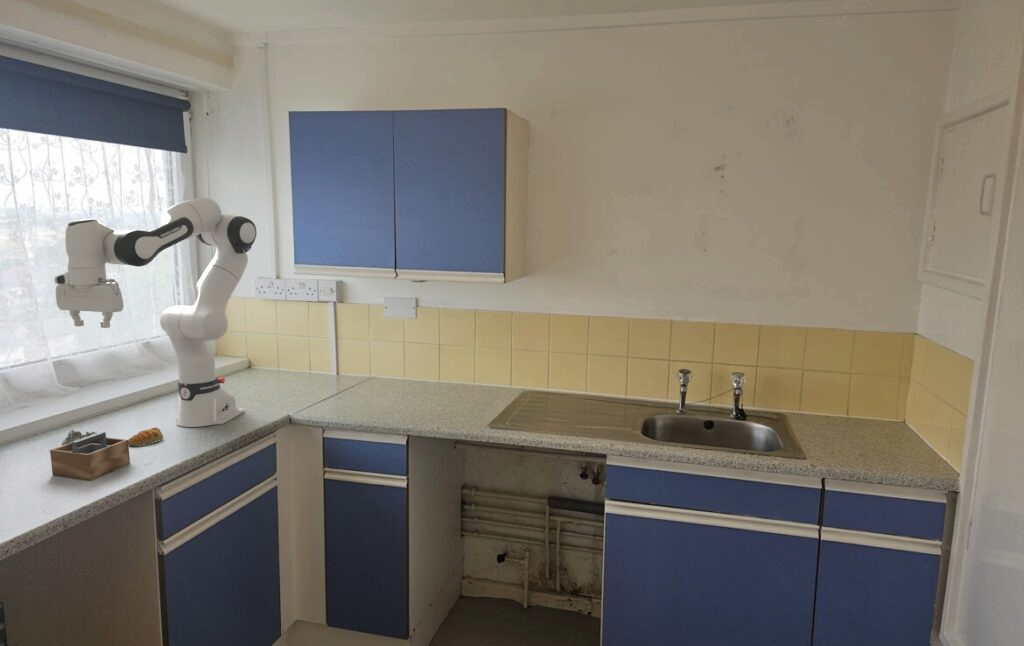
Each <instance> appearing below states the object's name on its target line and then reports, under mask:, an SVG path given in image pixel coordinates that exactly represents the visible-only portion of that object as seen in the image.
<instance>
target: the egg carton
mask: <svg viewBox="0 0 1024 646" xmlns="http://www.w3.org/2000/svg"><path fill="white" fill-rule="evenodd" d="M85 433H86V434H85ZM85 433H84V434H82V432H81V431H79V430H74V429H71V430H69V432H68V434H67V436H66V437H65V439H64V440H63V441H62V442H61V445H60V446H63V445H66V444H69V443H72V442H73V441H76V440H79V439H82V438H85V437H88V436H91V435H94V434H96V433H98V431H91V432H88V431H86V432H85Z"/></svg>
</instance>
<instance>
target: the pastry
mask: <svg viewBox="0 0 1024 646" xmlns="http://www.w3.org/2000/svg"><path fill="white" fill-rule="evenodd" d="M163 439H164V435H163V432H162V431H161V429H160V428H158V427H157V426H156V427H151V428H150V429H144V430H141V431H139V432H138V433H137V434H134V435H132V436H131V437H130V438H128V439H127V440H128V445H129V446H133V447H140V446H139V445H141V446H144V445H143V444H147V445H150V444H153V443H152V442H154V443H156V442H155V441H158V442H160V441H159V440H161V441H162V440H163ZM149 443H150V444H149Z"/></svg>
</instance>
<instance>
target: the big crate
mask: <svg viewBox="0 0 1024 646" xmlns="http://www.w3.org/2000/svg"><path fill="white" fill-rule="evenodd" d="M128 440H129V439H124V438H115V437H109V436H108V437H107V436H106V442H107V445H111V446H108V447H105V448H103V449H100V450H97V451H94V452H92V453H89V454H84V453H76V452H69V451H71V450H73V448H72V443H69V444H66V445H60V446H58V447H55V448H51V449H50V450H49V453H50V462H51V464H50V465H51V472H52V476H54V477H60V478H69V479H73V480H80V481H81V480H82V481H87V482H88V481H89V482H91V481H93V480H95V479H98V478H100V476H101V477H103V476H105V475H108V474H111V473H112V472H114V471H117V470H119V469H122V468H124V466H125V467H127V466H129V465H131V458H130V457H131V456H130V449H129V448H130V447H129V446H130V445H128ZM90 443H96V444H101V442H100V439H97V440H94V441H92V442H89V443H86V444H83V445H80V446H79V447H82V446H85V445H88V444H90ZM128 464H129V465H128ZM126 465H127V466H126Z"/></svg>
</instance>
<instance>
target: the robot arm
mask: <svg viewBox="0 0 1024 646" xmlns="http://www.w3.org/2000/svg"><path fill="white" fill-rule="evenodd" d="M160 222H161V225H160V226H157V227H156V228H153V229H151V230H148V231H147V230H116V229H114V228H112V227H110V226H107V225H105V224H103V223H101V222H100V221H99V219H97V218H81V219H75V220H72V221H70V222H68V223H67V225H66V227H65V238H64V240H65V252H66V255H67V257H68V262H67V263H68V264H67V271H66V272H64V273H61V274H59V275H56V276H55V277H54V278H53V279H54V284H55V285H56V288H55V299H56V305H57V308H58V309H59V310H60V311H69V316H70V317H71V318H72V320H73V324H74V327H83V326H84V324H85V323H84V319H82V318H81V316H80V314H81V312H93V313H95V312H96V313H101V314H102V317H103V319H102V321H100V323H99V324H100V327H101V329H108V328H110V327H111V320H112V318H113V316H114V314H113V313H118V312H122V311H123V309H124V307H125V306H124V301H123V300H124V299H123V295H122V291H121V289H120V284H119V283H118V282H117V281H116V280H115V279H114V278H107V270H106V264H109V265H121V266H122V265H123V266H125V265H127V266H133V267H144V266H147V265H148V264H150V263H152V261H153V260H154V259H155V258H156V257H157V256H158V255H159V254H160V253H161V252H162V251H165V250H166V249H168V248H171V247H173V246H174V245H176V244H178V243H180V242H182V241H185V240H188V239H191V238H194V237H196V238H197V240H198V241H199V242H201V243H202V244H204V245H208V246H214V247H216V251H215V254H214V256H213V258H212V259H211V261H210V262H209V264H208V265H207V267H206V268H205V270H204V271H203V273H202V275H201V276H200V278H199V280H198V281H197V282H196V284H195V285H196V286H195V287H196V292H197V294H198V295H197V298H196V301H195V302H194V304H193V305H187V304H178V305H174V306H173V305H172V306H170V307H167V308H166V309H164V310H163V312H162V313H161V315H160V318H159V321H160V322H159V324H160V328H161V329H162V330H163V331H164V332H165V334H167V336H168V338H169V340H170V343H171V344H172V348H173V350H174V352H175V353H174V354H175V356H176V362H177V370H178V371H177V372H178V382H177V392H178V393H179V395H178V399H177V400H178V403H177V415H176V416H175V420H176V425H177V426H179V427H185V428H198V427H206V426H207V427H208V426H212V425H223V424H225V423H227V422H229V421H230V420H232V419H235V418H236V417H238V416H240V415H241V414H242V413H244V412H245V410H244V408H241V407H237V402H236V398H235V396H234V395H233V394H231V393H229V392H228V391H226V390H224V389H223V388H221V385H223V384H225V383H226V379H225V377H216V365H215V364H216V362H215V356H214V354H213V352H212V351H211V350H210V349H209V348H208V346H207V343H206V342H207V341H214V340H218V339H221V338H222V337H223V336H224V335H225V334H226V332H227V331H228V326H229V321H228V319H227V316H226V311H227V306H228V303H229V300H230V298H231V297H232V295H233V293H234V291H235V289H236V287H237V286H238V284H239V282H240V281H241V280H242V279H241V278H242V277H243V275H244V273H245V270H246V268H247V264H248V261H249V256H248V253H247V252H249V251H250V250H251V248H252V246H253V245H254V244H255V241H256V238H257V227H256V224H255V223H254V221H252V220H251V219H249V218H247V217H244V216H242V215H241V216H239V215H234V214H222V211H221V208H220V206H219V204H218V203H217V202H216V201H215V200H213V199H212V198H209V197H202V198H201V197H199V198H194V199H190V200H185V201H182V202H179V203H177V204H174V205H172V206H170V207H169V208H167V209H165V210H164V211H163V212H162V213H161V219H160ZM220 384H221V385H220Z"/></svg>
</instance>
